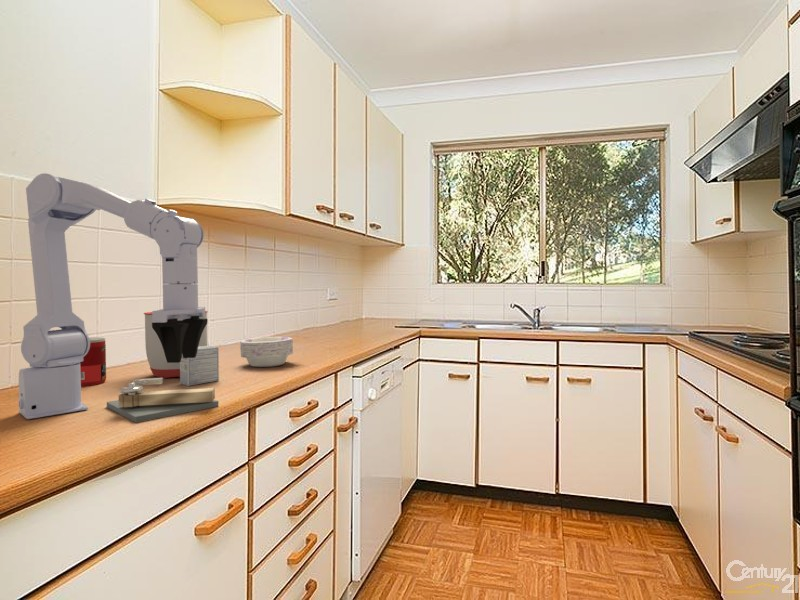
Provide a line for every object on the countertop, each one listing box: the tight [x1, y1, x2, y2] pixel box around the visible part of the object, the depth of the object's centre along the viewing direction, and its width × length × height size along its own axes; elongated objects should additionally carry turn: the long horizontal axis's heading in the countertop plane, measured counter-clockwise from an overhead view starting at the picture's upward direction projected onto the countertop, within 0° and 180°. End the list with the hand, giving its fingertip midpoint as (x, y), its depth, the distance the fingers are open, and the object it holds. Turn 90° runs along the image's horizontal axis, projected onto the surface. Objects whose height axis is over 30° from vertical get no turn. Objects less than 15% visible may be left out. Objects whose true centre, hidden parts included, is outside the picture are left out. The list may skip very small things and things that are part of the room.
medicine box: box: [179, 345, 220, 387], centre depth 116 cm, size 8×4×9 cm, turn 141°
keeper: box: [132, 377, 164, 392], centre depth 95 cm, size 2×5×5 cm, turn 109°
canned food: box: [80, 336, 107, 387], centre depth 116 cm, size 8×8×11 cm
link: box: [118, 387, 216, 407], centre depth 90 cm, size 16×4×2 cm, turn 102°
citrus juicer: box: [143, 310, 209, 379], centre depth 128 cm, size 16×17×20 cm
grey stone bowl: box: [239, 336, 294, 368], centre depth 142 cm, size 15×15×8 cm
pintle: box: [120, 382, 142, 408], centre depth 89 cm, size 4×4×6 cm
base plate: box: [106, 399, 219, 423], centre depth 93 cm, size 15×16×1 cm
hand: (181, 360), depth 85 cm, fingers open, 5 cm apart
